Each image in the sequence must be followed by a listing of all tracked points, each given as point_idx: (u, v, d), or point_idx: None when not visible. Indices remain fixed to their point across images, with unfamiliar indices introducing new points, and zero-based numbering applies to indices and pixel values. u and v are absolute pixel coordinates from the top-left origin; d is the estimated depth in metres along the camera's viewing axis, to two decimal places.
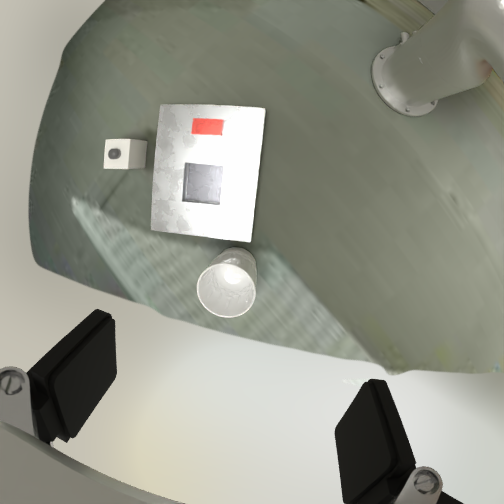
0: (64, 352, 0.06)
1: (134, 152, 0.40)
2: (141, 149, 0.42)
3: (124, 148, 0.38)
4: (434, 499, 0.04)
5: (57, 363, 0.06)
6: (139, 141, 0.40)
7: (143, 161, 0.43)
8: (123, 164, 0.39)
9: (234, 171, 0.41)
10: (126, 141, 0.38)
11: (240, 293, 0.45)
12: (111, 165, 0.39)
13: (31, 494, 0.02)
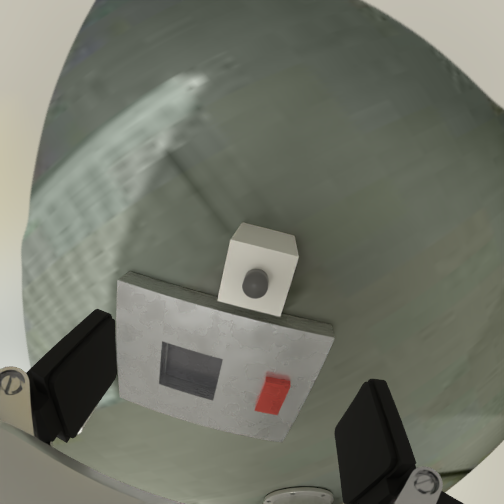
0: (64, 352, 0.06)
1: None
2: None
3: (263, 300, 0.20)
4: (434, 499, 0.04)
5: (57, 363, 0.06)
6: None
7: None
8: (228, 292, 0.20)
9: (204, 407, 0.28)
10: (277, 308, 0.20)
11: None
12: (231, 262, 0.19)
13: (31, 494, 0.02)
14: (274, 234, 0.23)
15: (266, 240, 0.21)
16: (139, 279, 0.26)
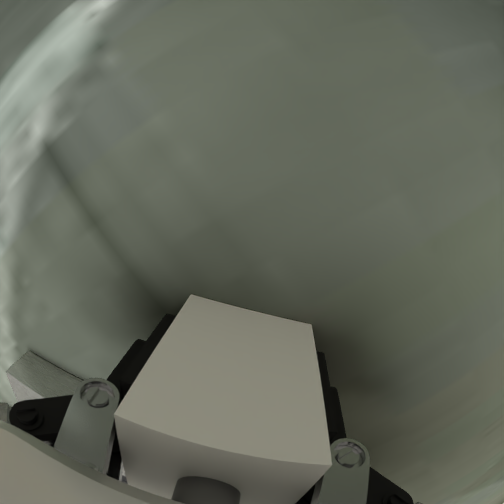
0: None
1: None
2: None
3: None
4: (366, 469, 0.05)
5: None
6: None
7: None
8: (148, 490, 0.06)
9: None
10: None
11: None
12: (135, 455, 0.05)
13: (31, 494, 0.02)
14: (264, 337, 0.09)
15: (237, 385, 0.06)
16: (37, 371, 0.12)
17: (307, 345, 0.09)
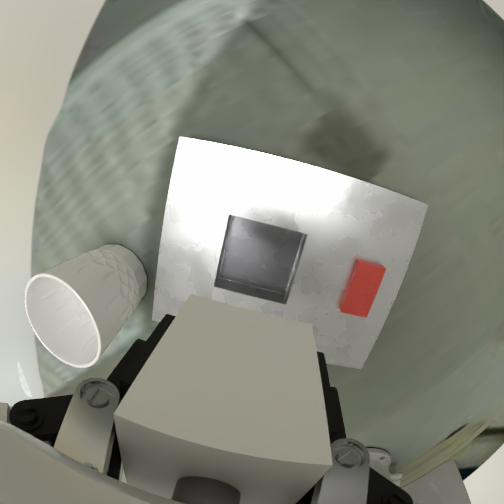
0: None
1: None
2: None
3: None
4: (366, 469, 0.05)
5: None
6: None
7: None
8: (148, 490, 0.06)
9: None
10: None
11: (74, 296, 0.24)
12: (135, 455, 0.05)
13: (31, 494, 0.02)
14: (264, 336, 0.09)
15: (237, 385, 0.06)
16: None
17: (307, 345, 0.09)
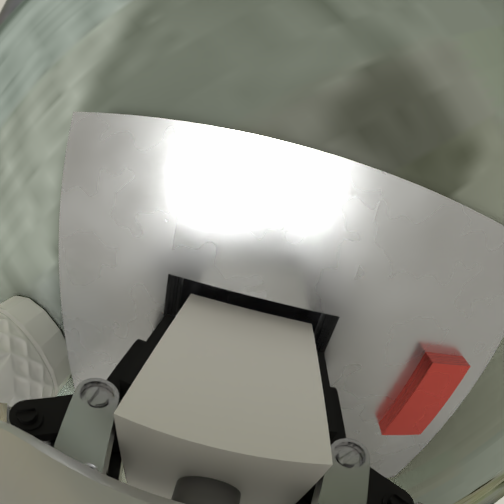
0: None
1: None
2: None
3: None
4: (366, 469, 0.05)
5: None
6: None
7: None
8: (148, 490, 0.06)
9: None
10: None
11: None
12: (135, 454, 0.05)
13: (31, 494, 0.02)
14: (264, 336, 0.09)
15: (237, 385, 0.06)
16: None
17: (307, 344, 0.09)
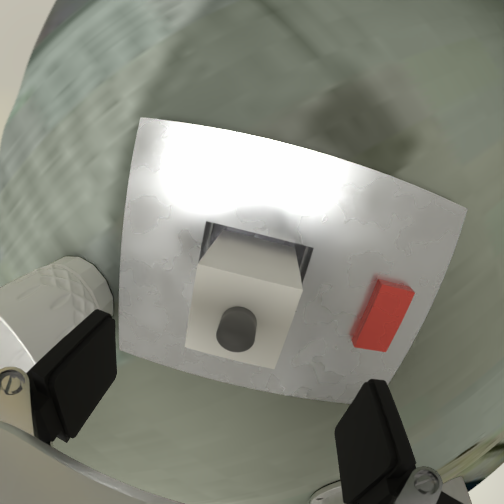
0: (64, 352, 0.06)
1: None
2: None
3: (249, 349, 0.13)
4: (434, 499, 0.04)
5: (58, 363, 0.06)
6: None
7: None
8: (199, 337, 0.13)
9: None
10: (270, 359, 0.13)
11: None
12: (201, 296, 0.13)
13: (31, 494, 0.02)
14: (266, 248, 0.16)
15: (254, 260, 0.14)
16: None
17: (291, 254, 0.16)
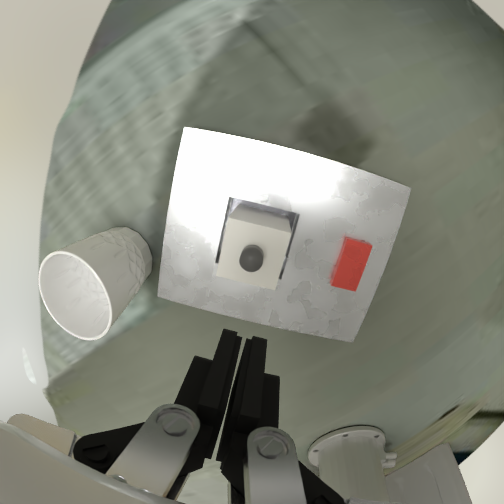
0: (221, 378, 0.08)
1: None
2: None
3: (259, 275, 0.21)
4: (294, 457, 0.06)
5: (222, 390, 0.07)
6: None
7: None
8: (226, 267, 0.21)
9: (268, 292, 0.26)
10: (272, 282, 0.21)
11: (84, 276, 0.26)
12: (229, 238, 0.21)
13: (31, 494, 0.02)
14: (269, 214, 0.24)
15: (261, 219, 0.22)
16: None
17: (285, 218, 0.24)
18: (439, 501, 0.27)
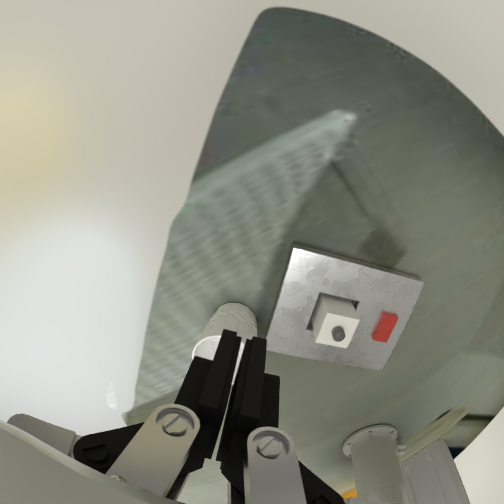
0: (221, 378, 0.08)
1: None
2: None
3: (339, 341, 0.35)
4: (294, 457, 0.06)
5: (222, 390, 0.07)
6: None
7: None
8: (322, 338, 0.35)
9: None
10: (346, 344, 0.35)
11: (209, 338, 0.40)
12: (326, 323, 0.35)
13: (31, 494, 0.02)
14: (341, 301, 0.39)
15: (341, 309, 0.36)
16: (305, 247, 0.38)
17: (350, 303, 0.39)
18: (437, 483, 0.39)
